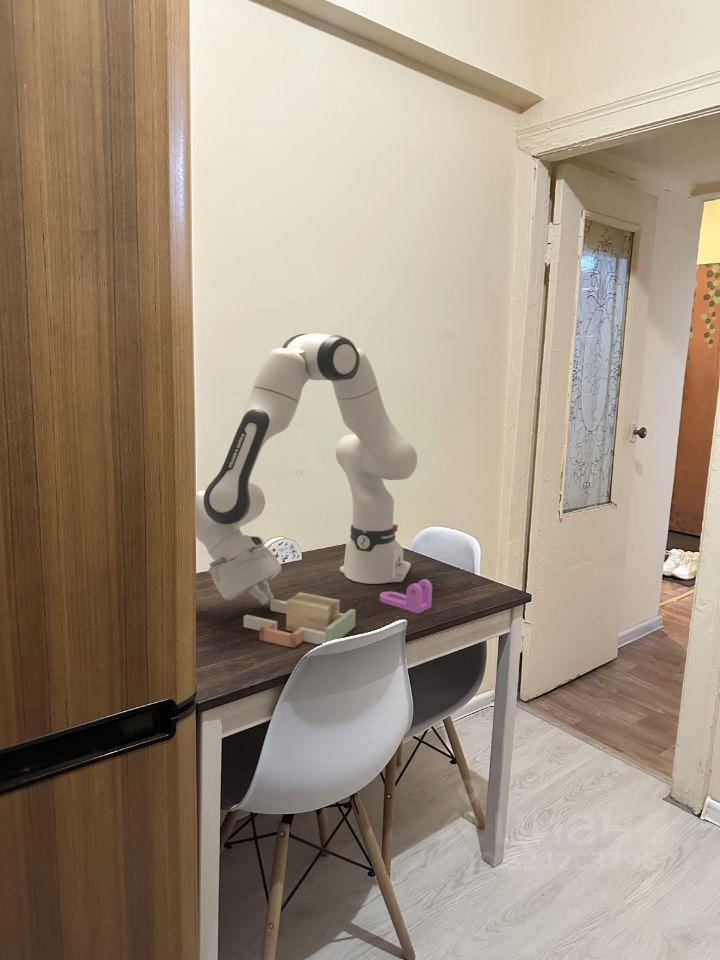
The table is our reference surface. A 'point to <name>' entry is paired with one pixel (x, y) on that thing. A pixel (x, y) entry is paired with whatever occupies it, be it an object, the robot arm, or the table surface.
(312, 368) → the robot arm
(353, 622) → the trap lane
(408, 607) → the bracket
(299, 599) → the maple block
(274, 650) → the table surface
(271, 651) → the table surface
